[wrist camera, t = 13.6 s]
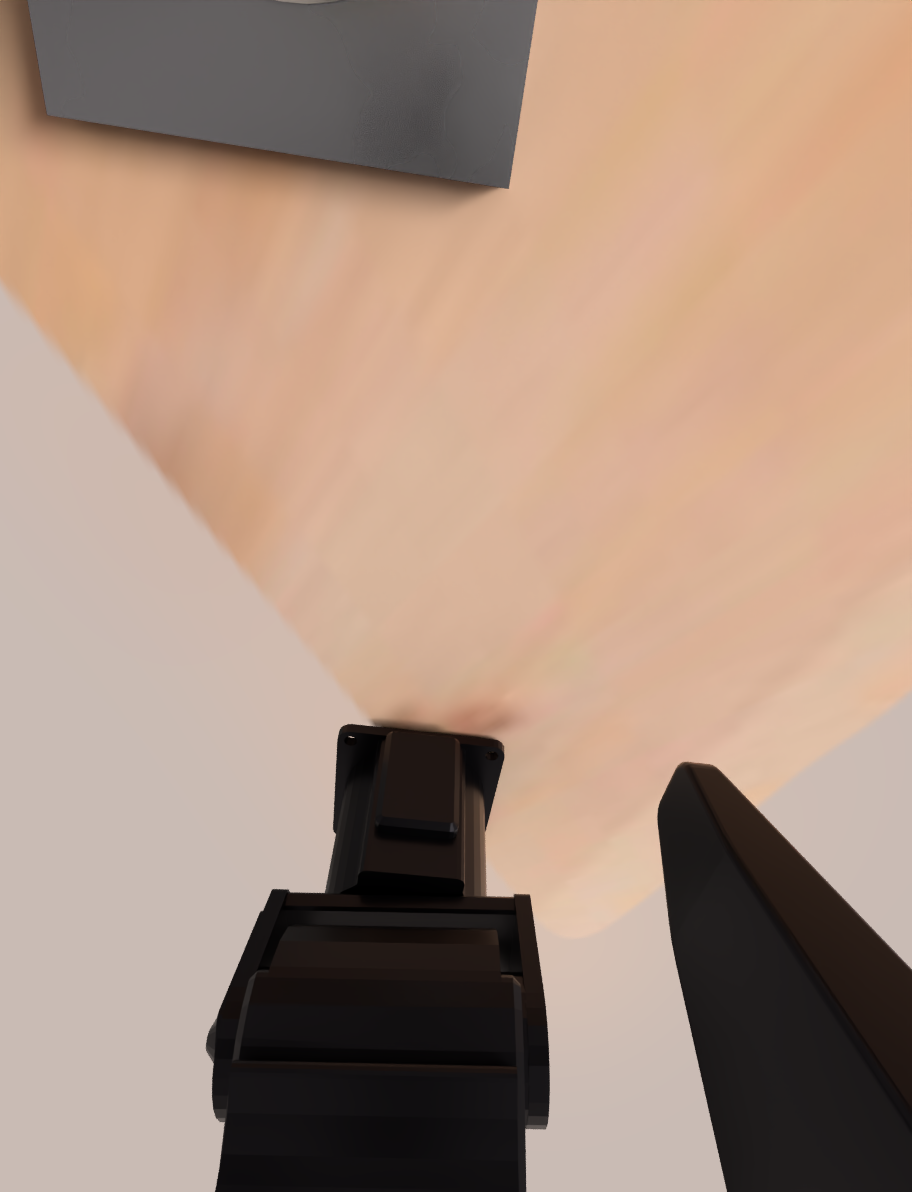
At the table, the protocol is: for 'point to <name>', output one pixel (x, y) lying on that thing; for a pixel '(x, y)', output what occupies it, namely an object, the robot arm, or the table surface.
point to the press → (300, 76)
